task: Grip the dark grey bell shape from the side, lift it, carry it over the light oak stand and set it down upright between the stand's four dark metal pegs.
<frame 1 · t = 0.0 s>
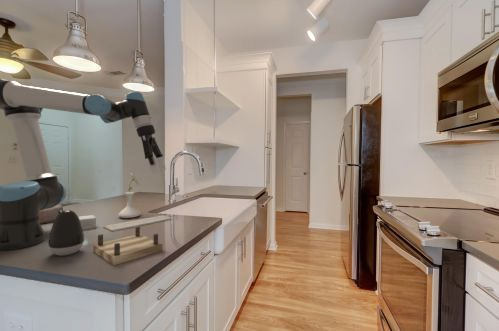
hand: (159, 171, 113), 28 cm above the worktop, tool tilted 20°, fingers open, 13 cm apart
dark grey bell shape: (66, 253, 87), on the worktop
small box: (85, 228, 118), on the worktop
oak stand: (128, 251, 90), on the worktop
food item: (45, 222, 125), on the worktop
baseboard: (138, 224, 128), on the worktop
flower in vase: (129, 217, 140), on the worktop
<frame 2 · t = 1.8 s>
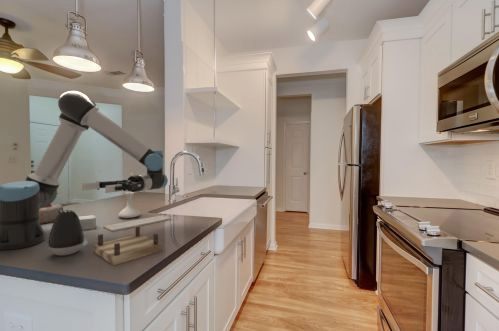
hand: (94, 188, 95), 22 cm above the worktop, tool horizontal, fingers open, 13 cm apart
nothing on the worktop moved.
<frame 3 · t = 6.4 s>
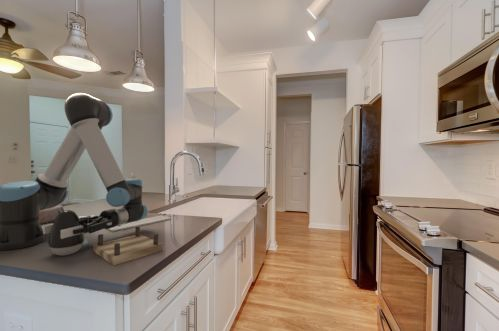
hand: (52, 232, 83), 9 cm above the worktop, tool horizontal, fingers closed on dark grey bell shape, 9 cm apart
dark grey bell shape: (66, 253, 87), on the worktop, touching gripper
everything else where it was.
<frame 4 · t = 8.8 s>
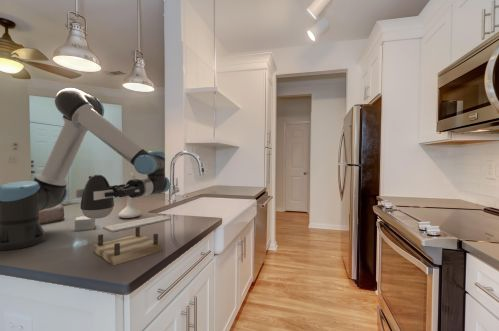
hand: (84, 194, 84), 21 cm above the worktop, tool horizontal, fingers closed on dark grey bell shape, 9 cm apart
dark grey bell shape: (97, 217, 88), point 12 cm above the worktop, touching gripper
everything else where it was.
when the fingers open (12 cm above the worktop, at t = 11.8 s): dark grey bell shape drops 1 cm, resting on oak stand.
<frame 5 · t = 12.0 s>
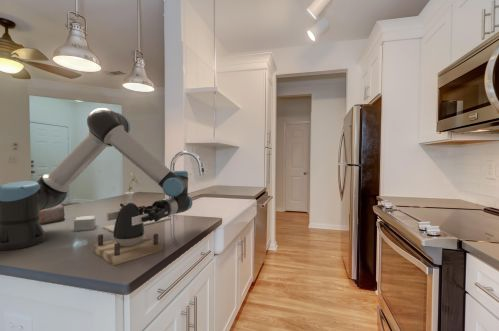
hand: (119, 219, 86), 12 cm above the worktop, tool horizontal, fingers open, 12 cm apart
dark grey bell shape: (128, 244, 90), point 2 cm above the worktop, touching oak stand
everything else where it was.
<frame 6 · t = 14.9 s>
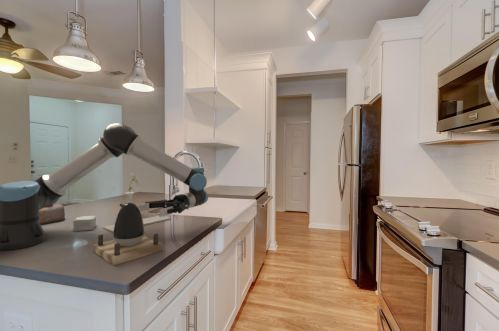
hand: (147, 211, 98), 13 cm above the worktop, tool horizontal, fingers open, 13 cm apart
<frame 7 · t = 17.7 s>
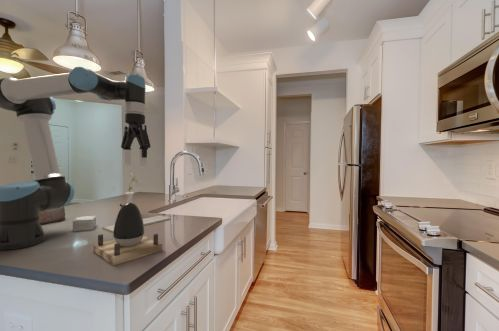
hand: (134, 165, 103), 31 cm above the worktop, tool pointing down, fingers open, 13 cm apart
at the end: dark grey bell shape 0.1 cm off-centre on the oak stand, point 2.3 cm above the oak stand's base; dark grey bell shape tilted 0°; the gripper is holding nothing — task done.
